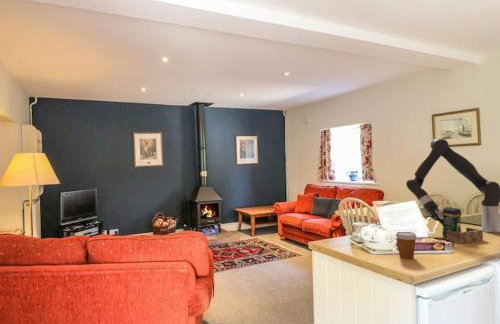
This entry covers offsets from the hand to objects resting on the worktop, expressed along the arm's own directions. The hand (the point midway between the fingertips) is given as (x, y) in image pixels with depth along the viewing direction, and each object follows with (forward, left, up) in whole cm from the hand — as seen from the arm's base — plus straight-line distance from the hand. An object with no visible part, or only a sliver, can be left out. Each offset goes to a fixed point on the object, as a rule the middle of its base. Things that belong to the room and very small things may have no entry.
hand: (445, 225), depth 203 cm
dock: (0, +12, -7) cm, 14 cm away
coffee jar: (0, +4, -7) cm, 8 cm away
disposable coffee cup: (+57, +22, -7) cm, 61 cm away
